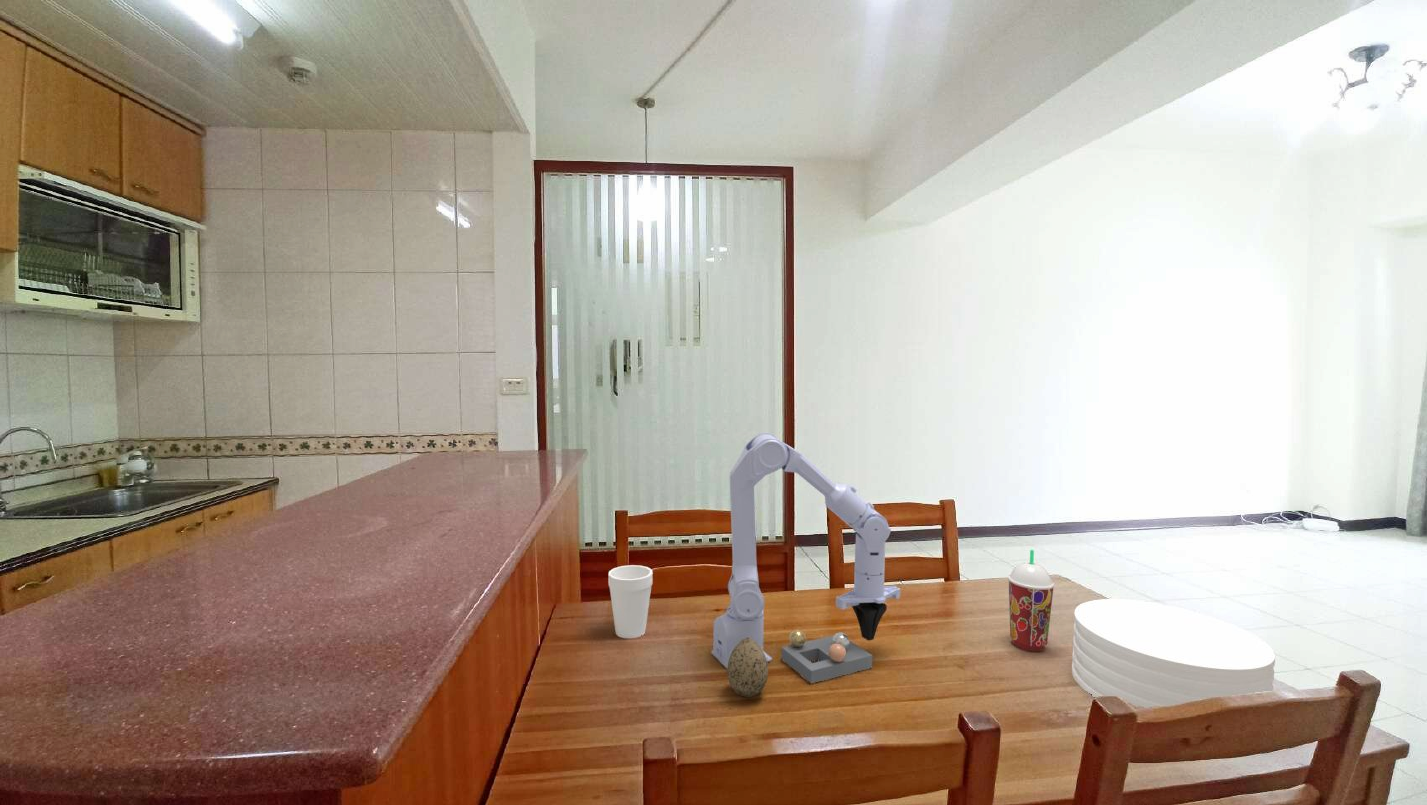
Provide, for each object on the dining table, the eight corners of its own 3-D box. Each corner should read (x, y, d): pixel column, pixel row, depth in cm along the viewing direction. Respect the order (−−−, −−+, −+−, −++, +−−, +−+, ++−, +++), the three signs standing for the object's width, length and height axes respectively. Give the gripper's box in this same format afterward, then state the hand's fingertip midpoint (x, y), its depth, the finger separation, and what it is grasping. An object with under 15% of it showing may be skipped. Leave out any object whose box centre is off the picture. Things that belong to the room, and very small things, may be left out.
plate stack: (1176, 654, 120) (1179, 598, 120) (1321, 740, 92) (1326, 668, 92) (1040, 655, 120) (1043, 599, 119) (1146, 742, 92) (1150, 670, 91)
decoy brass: (795, 651, 114) (795, 635, 114) (786, 644, 117) (786, 628, 117) (808, 648, 116) (809, 632, 115) (799, 641, 118) (800, 625, 118)
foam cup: (656, 623, 132) (656, 566, 131) (647, 642, 123) (648, 581, 122) (614, 621, 133) (614, 564, 132) (602, 640, 124) (602, 579, 123)
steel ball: (839, 654, 113) (839, 638, 113) (829, 647, 116) (829, 631, 116) (852, 651, 115) (853, 635, 114) (842, 644, 117) (842, 628, 117)
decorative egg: (718, 695, 103) (719, 639, 103) (743, 679, 109) (744, 625, 108) (751, 710, 99) (752, 652, 98) (776, 693, 104) (776, 637, 103)
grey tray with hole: (811, 684, 107) (811, 670, 107) (781, 659, 116) (781, 647, 116) (872, 668, 113) (872, 655, 113) (839, 645, 122) (839, 634, 122)
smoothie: (1057, 657, 118) (1061, 558, 117) (1012, 652, 120) (1016, 555, 119) (1043, 638, 126) (1047, 545, 125) (1001, 634, 128) (1004, 543, 127)
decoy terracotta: (835, 666, 108) (835, 649, 108) (825, 659, 111) (825, 642, 111) (849, 663, 110) (850, 646, 110) (838, 655, 113) (839, 639, 113)
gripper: (853, 582, 111) (851, 653, 111) (912, 572, 117) (910, 639, 118) (830, 571, 117) (828, 638, 118) (887, 561, 123) (885, 625, 124)
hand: (867, 638), depth 118 cm, fingers closed
